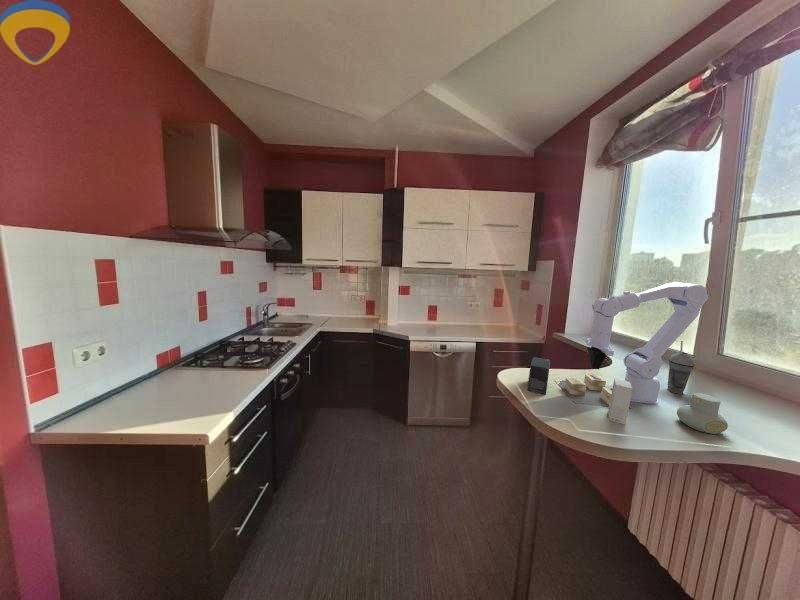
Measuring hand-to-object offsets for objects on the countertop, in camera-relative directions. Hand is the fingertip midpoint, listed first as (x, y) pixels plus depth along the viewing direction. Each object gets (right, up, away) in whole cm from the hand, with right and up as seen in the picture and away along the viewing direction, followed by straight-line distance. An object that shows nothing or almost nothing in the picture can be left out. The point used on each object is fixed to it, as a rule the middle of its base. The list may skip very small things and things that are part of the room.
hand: (595, 368), depth 108 cm
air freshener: (+20, -14, -17) cm, 30 cm away
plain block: (-7, -9, +2) cm, 11 cm away
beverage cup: (+36, -11, +8) cm, 39 cm away
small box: (-19, -9, +4) cm, 22 cm away
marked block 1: (+4, -9, +6) cm, 11 cm away
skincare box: (-3, -13, -15) cm, 20 cm away
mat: (-2, -10, +1) cm, 10 cm away
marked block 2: (+3, -11, -5) cm, 12 cm away
